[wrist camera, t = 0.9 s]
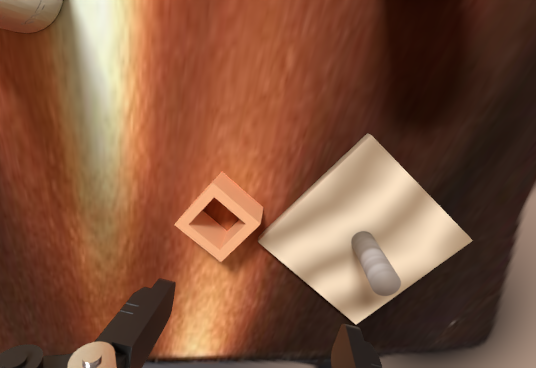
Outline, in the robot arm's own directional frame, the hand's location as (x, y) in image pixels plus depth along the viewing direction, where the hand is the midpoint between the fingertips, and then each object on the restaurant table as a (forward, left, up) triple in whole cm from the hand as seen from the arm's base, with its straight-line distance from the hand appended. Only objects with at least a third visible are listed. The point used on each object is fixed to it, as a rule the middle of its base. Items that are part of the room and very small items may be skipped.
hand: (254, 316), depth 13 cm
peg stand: (+11, +3, -18) cm, 21 cm away
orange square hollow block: (-2, -5, -18) cm, 18 cm away
